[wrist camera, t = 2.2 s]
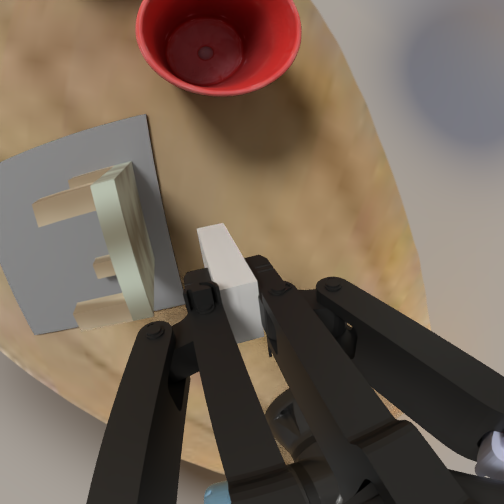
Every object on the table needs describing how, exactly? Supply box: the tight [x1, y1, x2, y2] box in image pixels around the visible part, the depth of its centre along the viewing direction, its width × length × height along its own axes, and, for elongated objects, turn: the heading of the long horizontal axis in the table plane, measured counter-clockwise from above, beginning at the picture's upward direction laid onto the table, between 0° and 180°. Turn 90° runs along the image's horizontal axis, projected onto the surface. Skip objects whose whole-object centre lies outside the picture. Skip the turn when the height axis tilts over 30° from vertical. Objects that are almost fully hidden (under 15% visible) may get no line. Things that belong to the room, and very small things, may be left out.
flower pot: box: [136, 0, 301, 97], centre depth 19 cm, size 11×11×10 cm
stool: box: [32, 161, 155, 331], centre depth 22 cm, size 10×6×10 cm, turn 7°
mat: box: [0, 114, 185, 335], centre depth 27 cm, size 20×20×1 cm
